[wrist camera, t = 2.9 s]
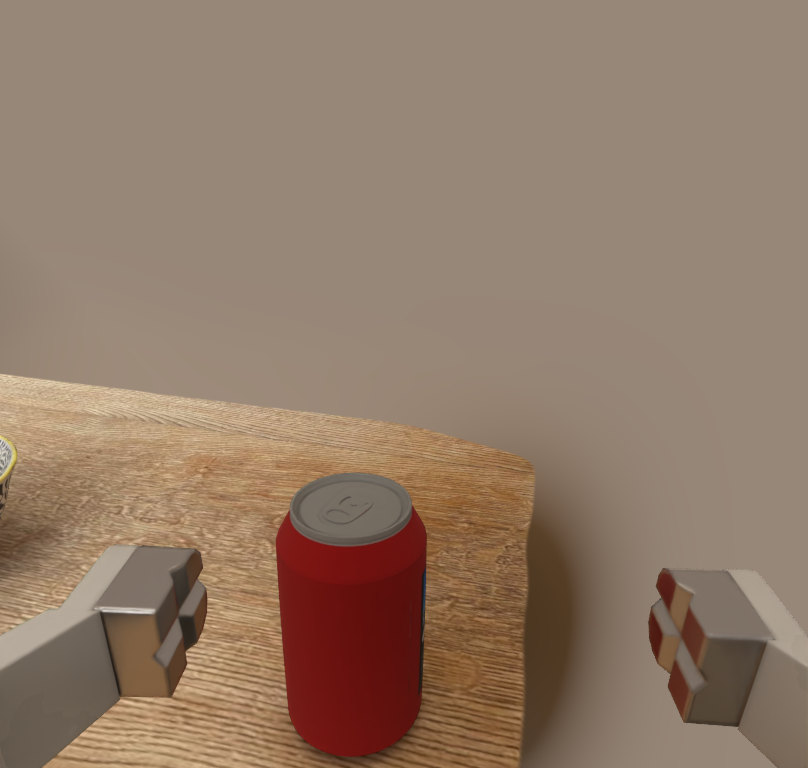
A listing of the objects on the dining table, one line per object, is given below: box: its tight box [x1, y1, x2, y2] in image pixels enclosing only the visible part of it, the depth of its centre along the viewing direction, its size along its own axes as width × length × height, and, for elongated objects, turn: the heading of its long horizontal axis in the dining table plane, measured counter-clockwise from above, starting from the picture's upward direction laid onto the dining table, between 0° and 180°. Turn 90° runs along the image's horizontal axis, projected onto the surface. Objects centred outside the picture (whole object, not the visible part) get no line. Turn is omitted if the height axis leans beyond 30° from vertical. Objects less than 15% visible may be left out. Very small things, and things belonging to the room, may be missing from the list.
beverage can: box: [276, 473, 427, 757], centre depth 28 cm, size 7×7×12 cm
